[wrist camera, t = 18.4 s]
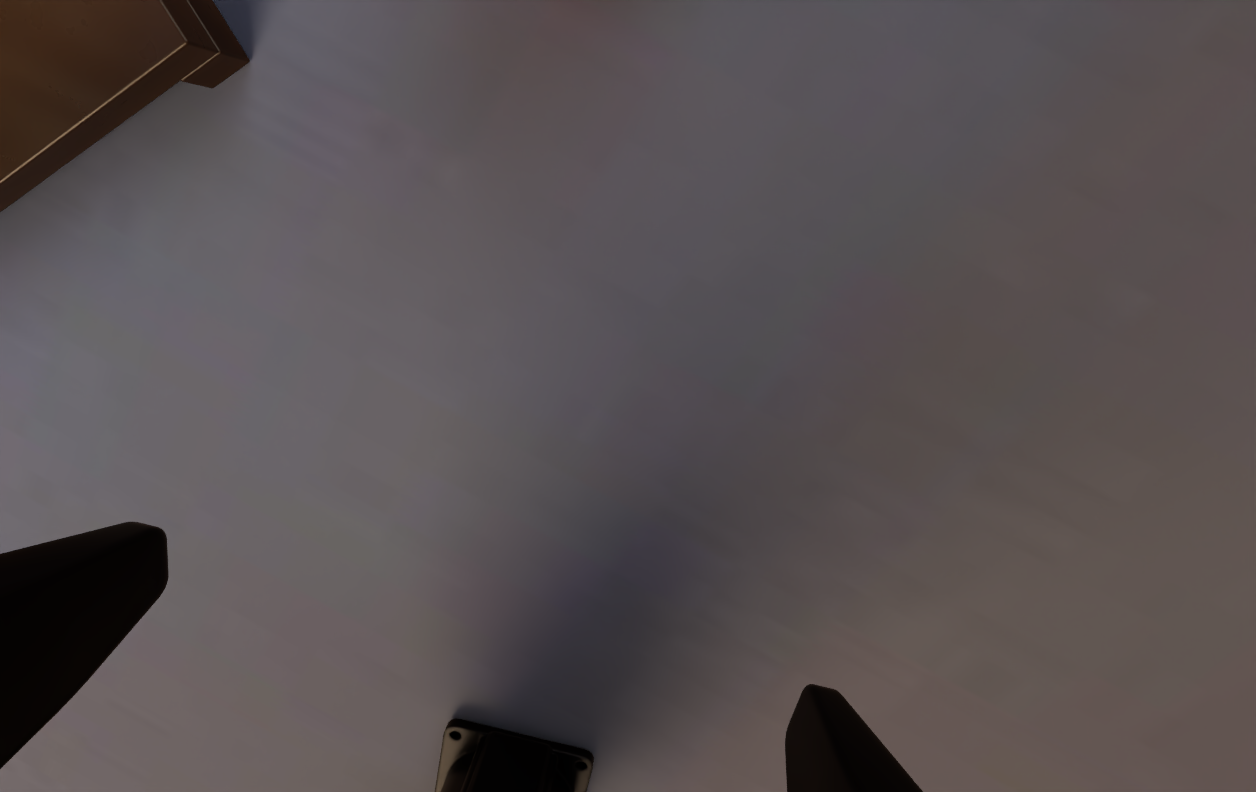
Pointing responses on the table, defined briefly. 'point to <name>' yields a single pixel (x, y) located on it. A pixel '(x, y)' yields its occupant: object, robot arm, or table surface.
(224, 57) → the dark brown wooden piece
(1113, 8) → the table surface
